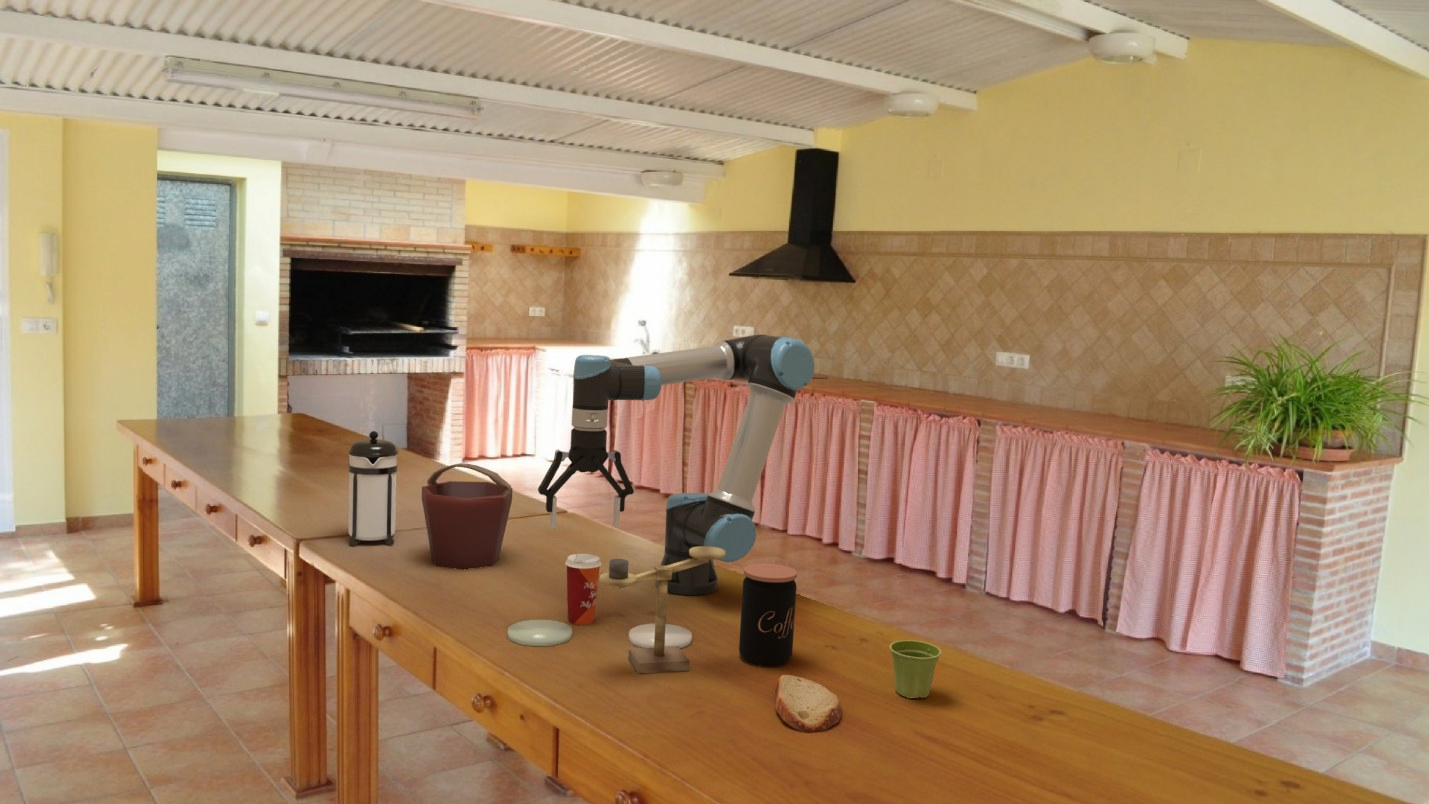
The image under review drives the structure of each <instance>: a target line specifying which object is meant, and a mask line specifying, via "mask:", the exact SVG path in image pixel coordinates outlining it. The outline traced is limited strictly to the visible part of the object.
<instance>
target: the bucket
mask: <svg viewBox="0 0 1429 804" xmlns="http://www.w3.org/2000/svg"><path fill="white" fill-rule="evenodd" d="M453 468H466V469H470V470H473V471H474V472H478V473H480V474H483V475H484V476H486V477H488V478H489V479H490V480H491V481H492V482H490V481H464V480H463V481H457V480H456V481H455V480H453V481H451V480H449V481H444V482H437V481H438V479H439V478H440V477H441V475H443V473H445V472H447V471H449V470H451V469H453ZM426 483H427V484H426V485H425V486H422V487H421V503H422V508H423V514H424V520H425V526H426V532H427V537H428V543H429V550H430V555H431V559H432V561H433V563H434V564H435V566H436V567H441V568H446V569H454V568H456V569H455V570H461V569H462V571H463V570H464V569H466V570H472V569H471V568H474V569H481V568H480V567H482V568H488V567H487V566H490V567H492V566H494V565H495V564H496V563H497V561H498V560H499V559H500V556H501V555H500V554H501V550H502V546H503V543H504V542H503V541H504V537H505V533H506V528H507V524H508V518H509V515H510V511H511V506H512V501H513V487H512V484H510V483H509V482H507V481H506V480H505V479H503V478H502V477H501V476H500V475H499V473H497V472H495V471H493V470H490V469H487V468H485V467H482V466H480V465H475V464H471V463H463V462H462V463H461V462H460V463H455V464H451V465H448V466H444V467H442V468H440V469H437V470H436V471H434V472H432V474H431V475H430V476H429V478H428V479H427V481H426ZM497 559H498V560H497ZM485 566H486V567H485ZM469 568H470V569H469ZM464 571H465V570H464Z"/></svg>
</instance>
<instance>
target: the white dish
mask: <svg viewBox="0 0 1429 804" xmlns="http://www.w3.org/2000/svg"><path fill="white" fill-rule="evenodd" d="M692 638H693V634H692V632H691V631H690V630H689V629H687V628H685V627H683V626H680V625H675V624H672V623H671V624H669V623H666V627H665V646H664V647H672V646H679V648H680V649H683V648H686V647H687V646H689V645H690V644H692ZM654 639H655V623H645V624H640V625H636V626H634V627H632V628H631V629H630V630H629V631H628V641H629V642H630V643H631V644H632V645H634V646H636V647H638V648H654Z"/></svg>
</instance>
